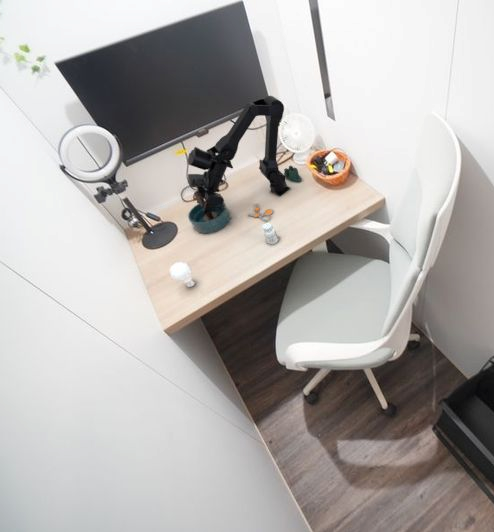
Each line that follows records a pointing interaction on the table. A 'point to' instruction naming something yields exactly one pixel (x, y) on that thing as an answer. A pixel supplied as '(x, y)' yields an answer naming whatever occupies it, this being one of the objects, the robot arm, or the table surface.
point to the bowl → (212, 225)
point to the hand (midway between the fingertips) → (201, 208)
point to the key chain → (261, 213)
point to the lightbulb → (182, 273)
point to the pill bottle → (270, 233)
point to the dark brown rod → (201, 201)
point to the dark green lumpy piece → (292, 174)
